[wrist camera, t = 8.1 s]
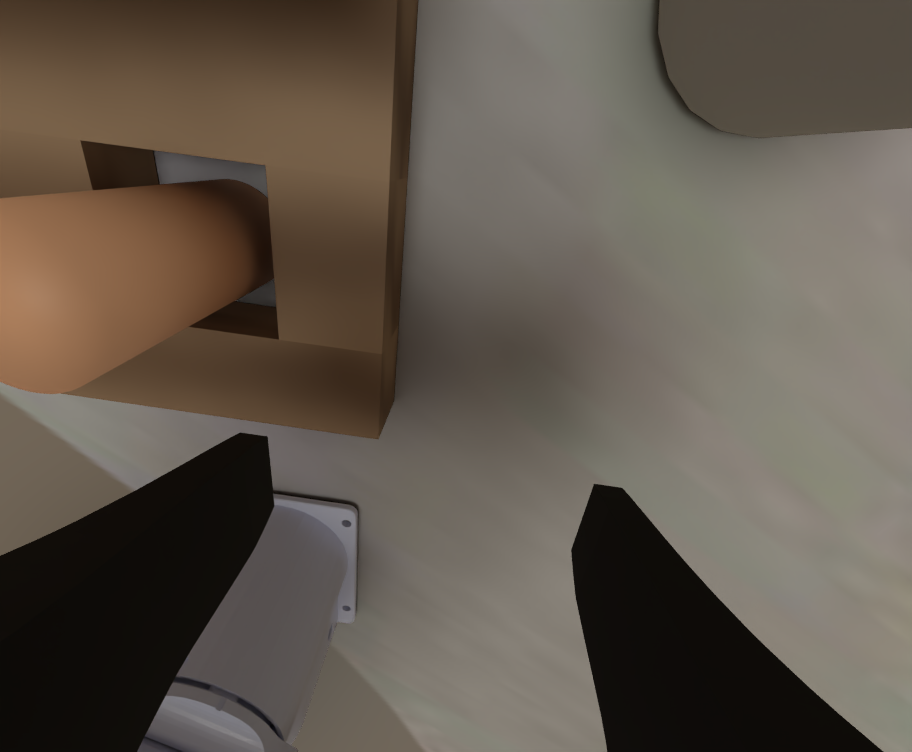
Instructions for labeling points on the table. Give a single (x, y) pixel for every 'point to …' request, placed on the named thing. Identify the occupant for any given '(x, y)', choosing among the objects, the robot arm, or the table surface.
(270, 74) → the socket block
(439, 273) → the table surface
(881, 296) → the table surface
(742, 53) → the can
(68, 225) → the peg
